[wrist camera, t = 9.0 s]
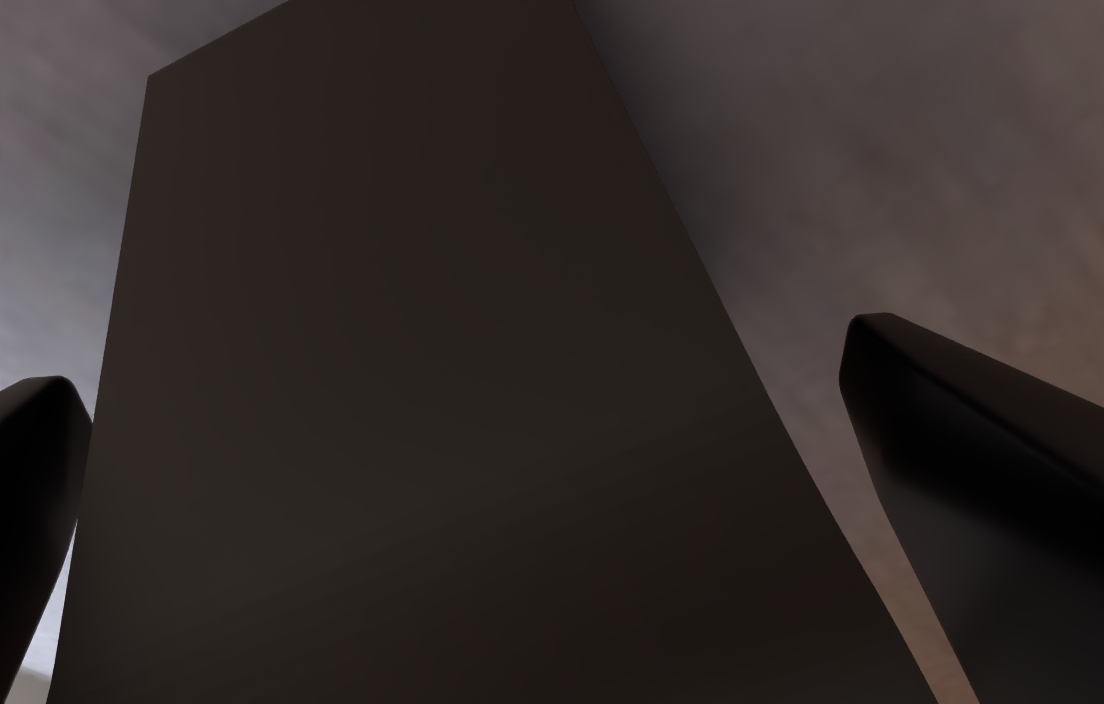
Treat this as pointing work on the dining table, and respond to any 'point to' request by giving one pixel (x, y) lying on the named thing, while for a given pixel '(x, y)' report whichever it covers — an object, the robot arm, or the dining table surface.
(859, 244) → the dining table surface
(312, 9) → the phone stand
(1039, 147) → the dining table surface
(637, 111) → the dining table surface
